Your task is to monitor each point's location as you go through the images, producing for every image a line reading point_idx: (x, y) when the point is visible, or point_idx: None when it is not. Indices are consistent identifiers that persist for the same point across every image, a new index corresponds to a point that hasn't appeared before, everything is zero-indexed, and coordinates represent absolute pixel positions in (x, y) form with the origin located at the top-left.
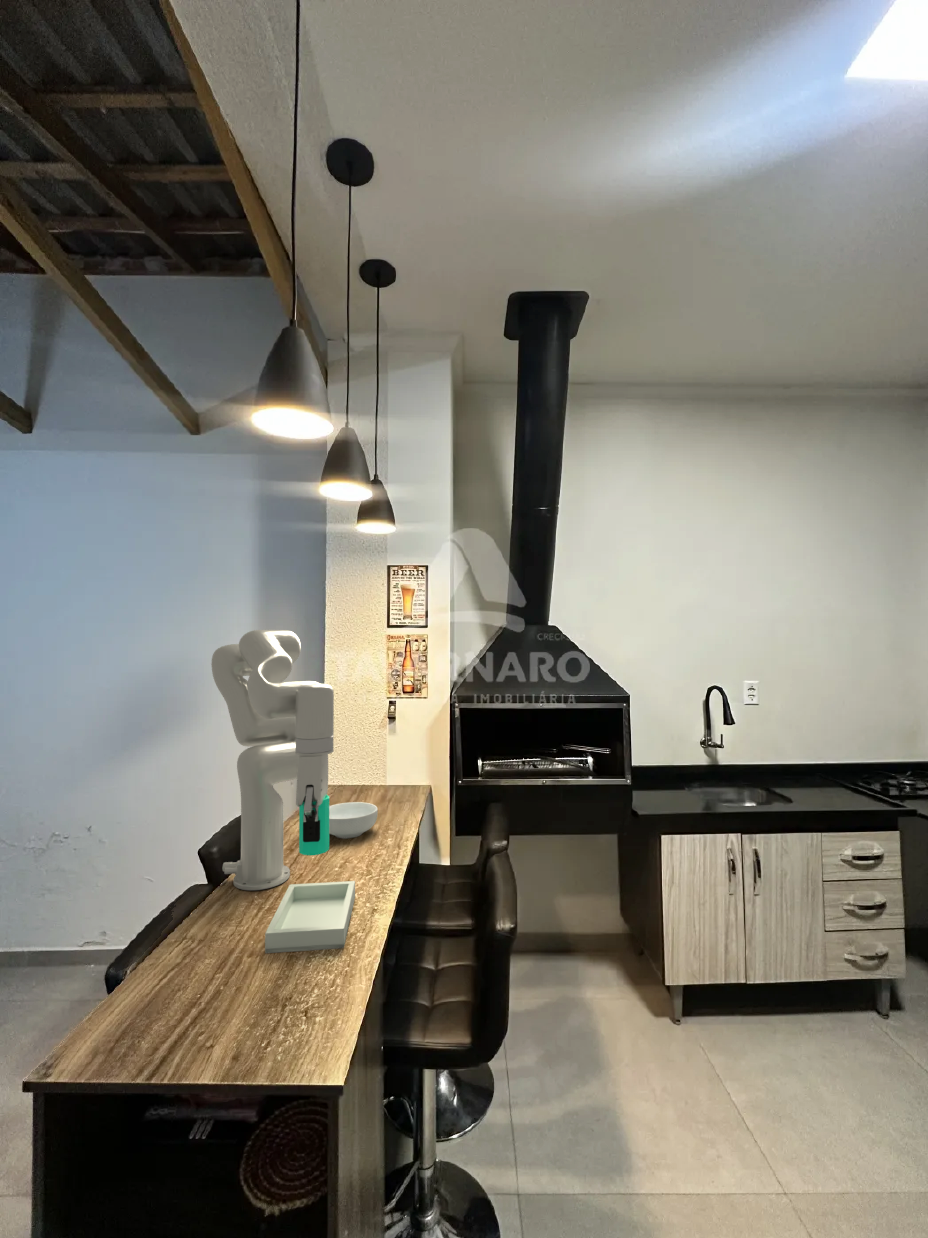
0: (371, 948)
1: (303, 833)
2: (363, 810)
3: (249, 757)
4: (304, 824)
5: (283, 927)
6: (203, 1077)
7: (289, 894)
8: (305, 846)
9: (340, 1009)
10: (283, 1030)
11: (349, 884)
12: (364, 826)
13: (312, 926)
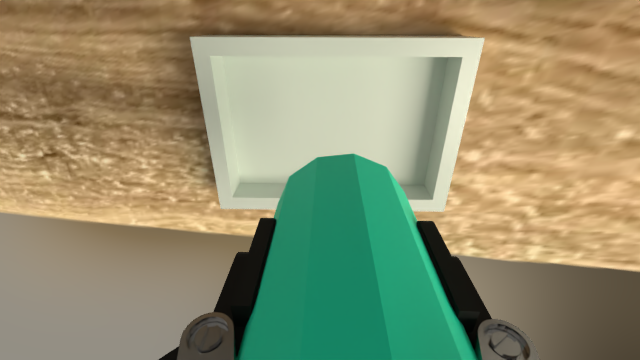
0: (232, 229)
1: (250, 247)
2: None
3: None
4: (236, 295)
5: (297, 58)
6: None
7: (411, 53)
8: (278, 208)
9: (73, 199)
10: (3, 128)
11: (427, 201)
12: None
13: (296, 126)
